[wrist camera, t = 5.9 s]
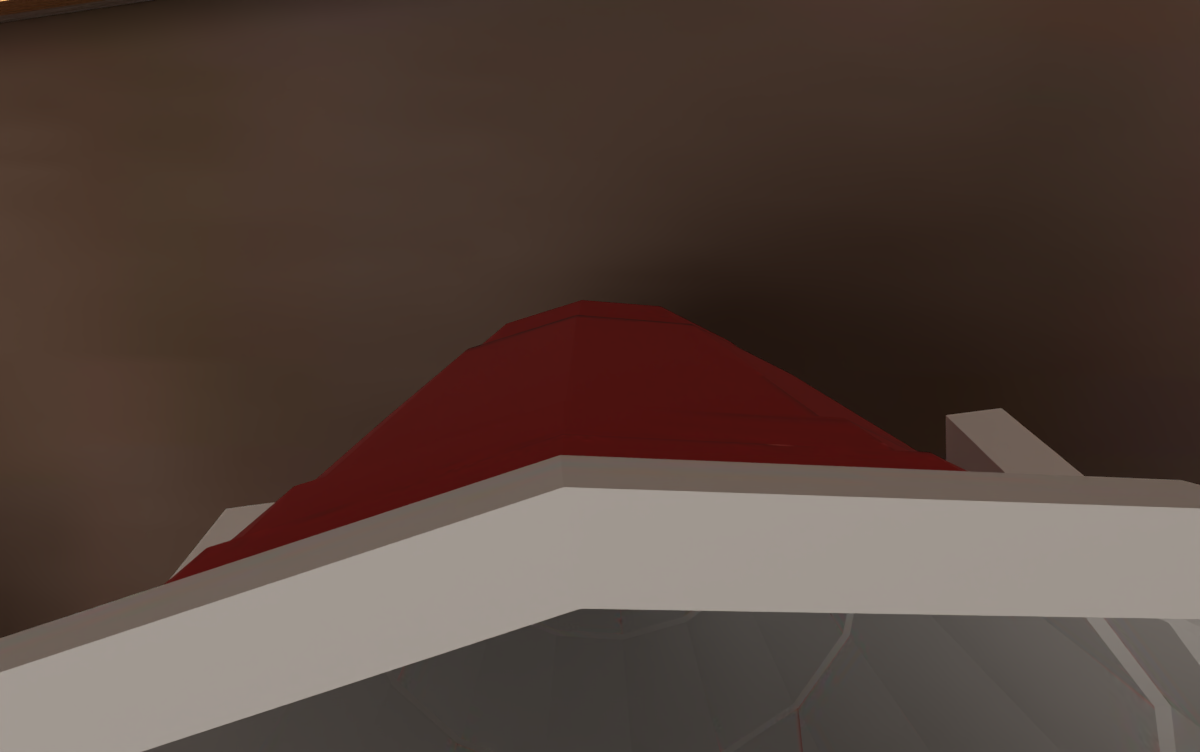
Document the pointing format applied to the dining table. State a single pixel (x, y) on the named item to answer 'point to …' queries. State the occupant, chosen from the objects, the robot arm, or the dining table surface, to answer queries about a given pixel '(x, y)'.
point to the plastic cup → (644, 583)
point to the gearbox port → (52, 7)
